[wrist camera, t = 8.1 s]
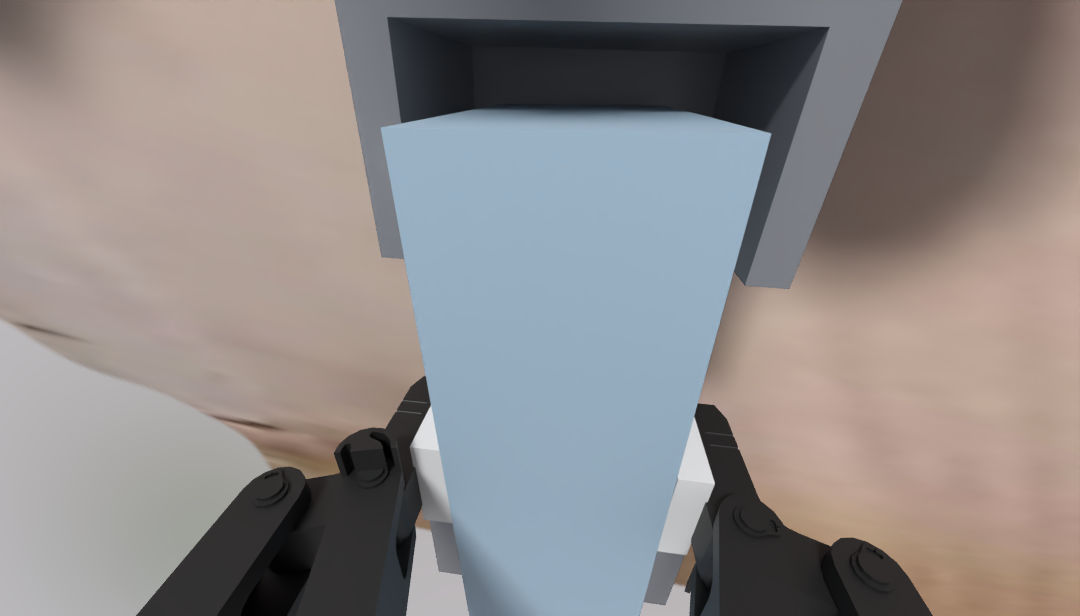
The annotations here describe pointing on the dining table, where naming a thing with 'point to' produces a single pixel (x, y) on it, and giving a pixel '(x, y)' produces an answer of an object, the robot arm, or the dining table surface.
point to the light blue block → (567, 330)
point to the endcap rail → (630, 98)
